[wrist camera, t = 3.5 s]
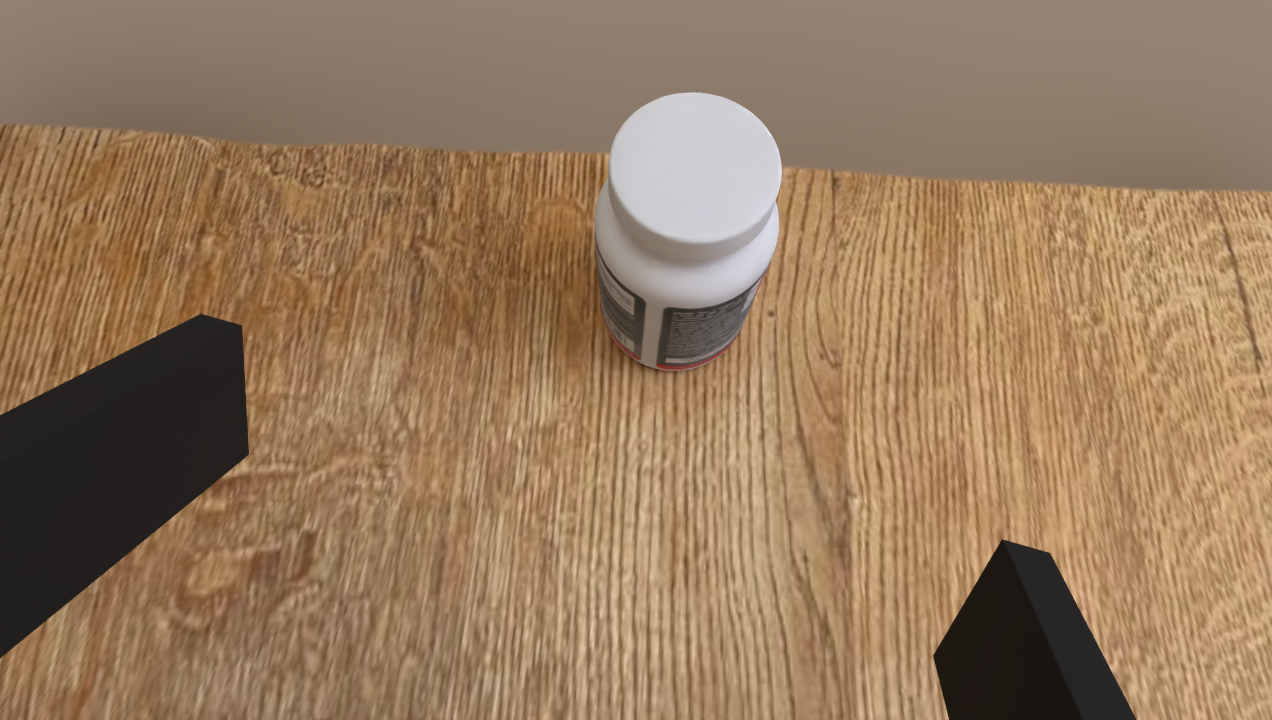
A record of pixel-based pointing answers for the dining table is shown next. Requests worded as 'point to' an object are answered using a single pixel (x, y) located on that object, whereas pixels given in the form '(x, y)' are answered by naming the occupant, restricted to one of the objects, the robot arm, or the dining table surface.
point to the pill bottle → (685, 228)
